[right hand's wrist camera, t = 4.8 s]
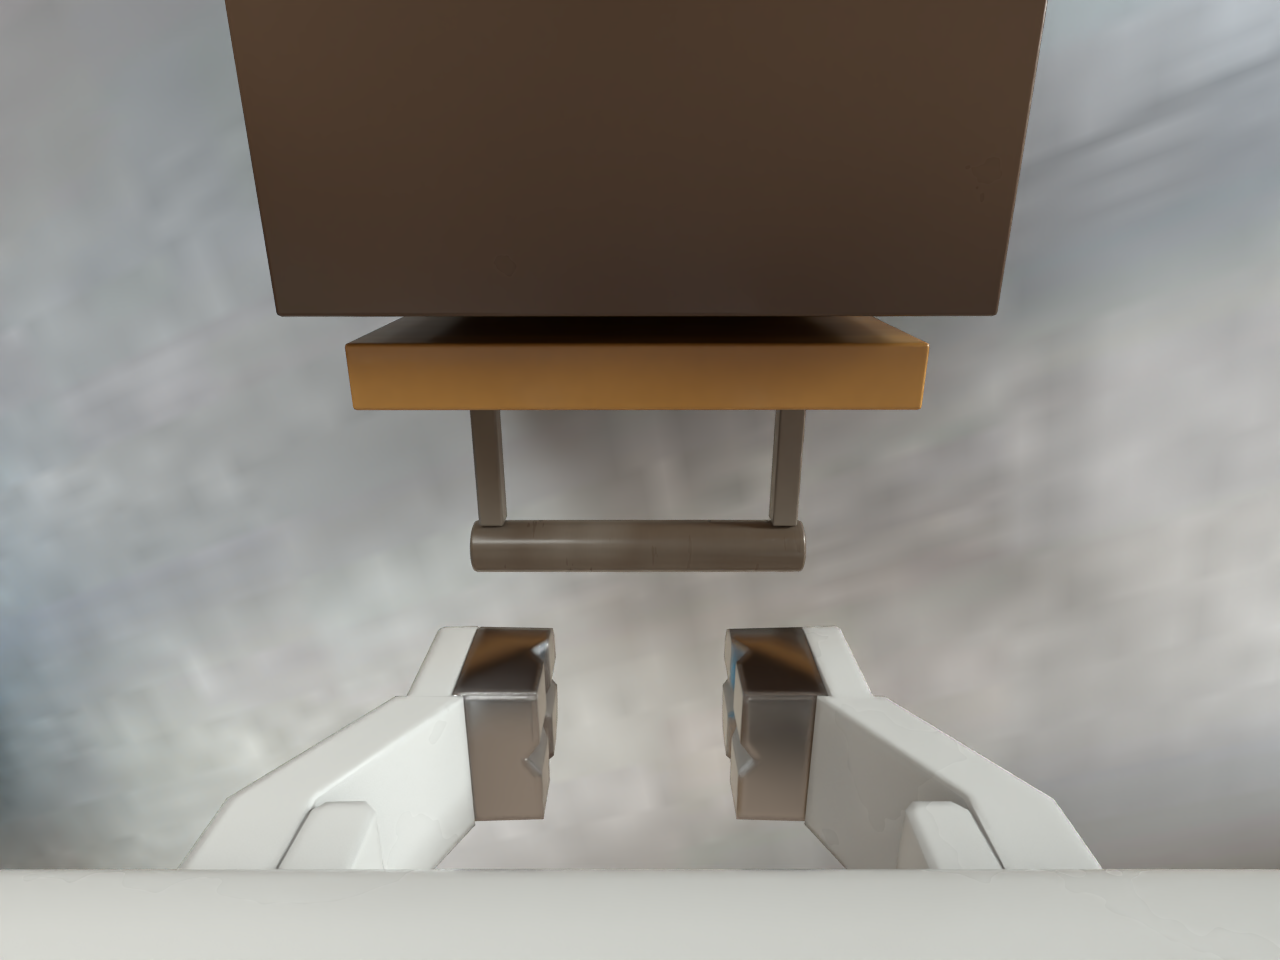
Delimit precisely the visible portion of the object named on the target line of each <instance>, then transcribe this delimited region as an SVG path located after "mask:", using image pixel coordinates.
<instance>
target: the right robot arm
mask: <svg viewBox="0 0 1280 960" xmlns="http://www.w3.org/2000/svg"><path fill="white" fill-rule="evenodd" d="M555 658H556V652H555V638H554V632H553V628H517V627H480V628H479V627H478V626H461V627H443V628H441V629H439V630H438V632H437V634H436V636H435V638H434V640H433V642H432V644H431V646H430V649H429V651H428V653H427V655H426V657H425V659H424V661H423V663H422V665H421V667H420V669H419V671H418V673H417V676H416V678H415V680H414V682H413V684H412V686H411V688H410V690H409V692H408V694H407V696H395V697H394V698H392V699H390V700H389V701H387V702H385V703H384V704H382V705H380V706H379V707H377V708H375V709H374V710H372V711H370V712H369V713H367V714H365V715H364V716H362V717H360V718H359V719H357V720H356V721H354V722H352V723H351V724H349V725H347V726H346V727H344V728H342V729H341V730H339V731H337V732H336V733H334V734H332V735H331V736H329V737H327V738H326V739H324V740H322V741H321V742H319V743H317V744H316V745H314V746H312V747H311V748H309V749H308V750H306V751H304V752H303V753H301V754H299V755H298V756H296V757H294V758H293V759H291V760H289V761H288V762H286V763H284V764H283V765H281V766H279V767H278V768H276V769H274V770H273V771H271V772H269V773H268V774H266V775H264V776H263V777H261V778H260V779H258V780H256V781H255V782H253V783H251V784H250V785H248V786H246V787H245V788H243V789H241V790H240V791H238V792H236V793H235V794H233V795H231V796H230V797H228V798H227V799H226V800H225V802H224V803H223V805H222V806H221V807H220V809H219V810H218V812H217V813H216V814H215V816H214V817H213V819H212V820H211V822H210V823H209V824H208V826H207V827H206V829H205V830H204V832H203V833H202V834H201V836H200V837H199V839H198V840H197V841H196V843H195V844H194V846H193V847H192V849H191V850H190V851H189V853H188V854H187V856H186V857H185V858H184V860H183V861H182V863H181V864H180V866H179V867H178V868H177V869H0V960H1280V869H1102V867H1101V866H1100V864H1099V863H1098V861H1097V860H1096V859H1095V857H1094V856H1093V854H1092V853H1091V851H1090V850H1089V849H1088V847H1087V846H1086V844H1085V843H1084V841H1083V840H1082V839H1081V837H1080V836H1079V834H1078V833H1077V831H1076V830H1075V829H1074V827H1073V826H1072V824H1071V823H1070V821H1069V820H1068V818H1067V817H1066V816H1065V814H1064V813H1063V811H1062V810H1061V808H1060V807H1059V806H1058V804H1057V803H1056V801H1055V800H1054V799H1053V798H1051V797H1049V796H1048V795H1046V794H1045V793H1043V792H1041V791H1040V790H1038V789H1036V788H1035V787H1033V786H1031V785H1030V784H1028V783H1026V782H1025V781H1023V780H1021V779H1020V778H1018V777H1017V776H1015V775H1013V774H1012V773H1010V772H1008V771H1007V770H1005V769H1003V768H1002V767H1000V766H998V765H997V764H995V763H993V762H992V761H990V760H989V759H987V758H985V757H984V756H982V755H980V754H979V753H977V752H975V751H974V750H972V749H970V748H969V747H967V746H965V745H964V744H962V743H960V742H959V741H957V740H956V739H954V738H952V737H951V736H949V735H947V734H946V733H944V732H942V731H941V730H939V729H937V728H936V727H934V726H932V725H931V724H929V723H928V722H926V721H924V720H923V719H921V718H919V717H918V716H916V715H914V714H913V713H911V712H909V711H908V710H906V709H904V708H903V707H901V706H900V705H898V704H896V703H895V702H893V701H891V700H890V699H888V698H886V697H885V696H873V694H872V692H871V690H870V688H869V686H868V684H867V682H866V680H865V678H864V676H863V674H862V672H861V670H860V668H859V666H858V664H857V662H856V660H855V658H854V656H853V654H852V651H851V649H850V647H849V645H848V643H847V641H846V639H845V637H844V635H843V633H842V631H841V629H840V628H838V627H836V626H822V627H789V628H749V629H727V630H726V637H725V650H724V659H725V665H726V670H727V676H728V679H727V681H726V682H725V683H724V684H723V700H722V716H723V735H724V744H725V751H726V756H727V757H729V758H730V759H731V767H730V783H731V789H732V795H733V801H734V807H735V813H736V819H751V820H787V821H805V825H806V826H807V827H808V828H809V829H810V830H811V832H812V833H813V834H814V835H815V836H816V837H817V838H818V839H819V840H820V841H821V842H822V843H823V845H824V846H825V847H826V848H827V849H828V850H829V851H830V852H831V853H832V854H833V855H834V856H835V858H836V859H837V860H838V861H839V862H840V863H841V864H842V865H843V866H844V867H845V868H846V869H435V868H436V866H437V865H438V864H439V863H440V862H441V861H442V860H443V859H444V858H445V857H446V856H447V855H448V854H449V852H450V851H451V850H452V849H453V848H454V847H455V846H456V845H457V844H458V843H459V842H460V841H461V840H462V838H463V837H464V836H465V835H466V834H467V833H468V832H469V831H470V830H471V829H472V828H473V827H474V826H475V821H492V820H527V819H544V813H545V807H546V801H547V795H548V789H549V782H550V770H549V759H550V758H551V757H552V756H554V750H555V743H556V733H557V718H558V698H557V684H556V683H555V682H554V681H553V679H552V676H553V670H554V664H555Z"/></svg>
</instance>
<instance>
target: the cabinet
mask: <svg viewBox="0 0 1280 960" xmlns="http://www.w3.org/2000/svg"><path fill="white" fill-rule="evenodd" d="M1047 2H1048V0H225V5H226V11H227V17H228V23H229V29H230V35H231V41H232V47H233V53H234V59H235V65H236V71H237V77H238V83H239V89H240V95H241V101H242V107H243V113H244V119H245V125H246V131H247V137H248V143H249V149H250V155H251V161H252V167H253V173H254V179H255V185H256V192H257V198H258V204H259V210H260V216H261V222H262V228H263V234H264V240H265V246H266V252H267V258H268V264H269V270H270V276H271V282H272V288H273V294H274V300H275V306H276V312H277V314H278V315H279V316H282V317H340V316H993V315H996V314H997V311H998V305H999V299H1000V292H1001V286H1002V280H1003V274H1004V268H1005V262H1006V255H1007V249H1008V243H1009V237H1010V231H1011V224H1012V218H1013V212H1014V206H1015V200H1016V194H1017V187H1018V181H1019V175H1020V169H1021V163H1022V156H1023V150H1024V144H1025V138H1026V132H1027V126H1028V119H1029V113H1030V107H1031V101H1032V95H1033V89H1034V82H1035V76H1036V70H1037V64H1038V58H1039V51H1040V45H1041V39H1042V33H1043V27H1044V21H1045V14H1046V8H1047Z"/></svg>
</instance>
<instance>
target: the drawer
mask: <svg viewBox="0 0 1280 960" xmlns="http://www.w3.org/2000/svg"><path fill="white" fill-rule="evenodd" d="M345 351H346V358H347V366H348V373H349V380H350V387H351V395H352V402H353V408H354V409H356V410H470V417H471V429H472V441H473V454H474V466H475V478H476V490H477V503H478V515H479V520H478V521H475V523H474V525H473V528H472V531H471V538H470V557H471V563H472V567H473V569H474V570H475V571H477V572H799V571H801V570H802V569H803V567H804V563H805V558H806V537H805V531H804V527H803V524H802V522H801V521H799V520H797V517H798V504H799V492H800V479H801V466H802V453H803V441H804V428H805V415H806V410H918V409H921V406H922V399H923V392H924V384H925V377H926V369H927V362H928V354H929V344H928V343H926V342H924V341H922V340H920V339H918V338H916V337H913V336H911V335H909V334H907V333H905V332H903V331H901V330H899V329H897V328H895V327H893V326H891V325H888V324H886V323H884V322H882V321H880V320H878V319H876V318H874V317H872V316H404V317H402V318H400V319H398V320H396V321H394V322H392V323H389V324H387V325H385V326H383V327H381V328H379V329H377V330H375V331H373V332H371V333H368V334H366V335H364V336H362V337H360V338H358V339H356V340H354V341H352V342H350V343H347V344H346V345H345ZM500 410H776V414H775V429H774V445H773V461H772V476H771V492H770V507H769V517H770V520H506V517H507V508H506V493H505V479H504V464H503V449H502V434H501V419H500Z"/></svg>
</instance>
